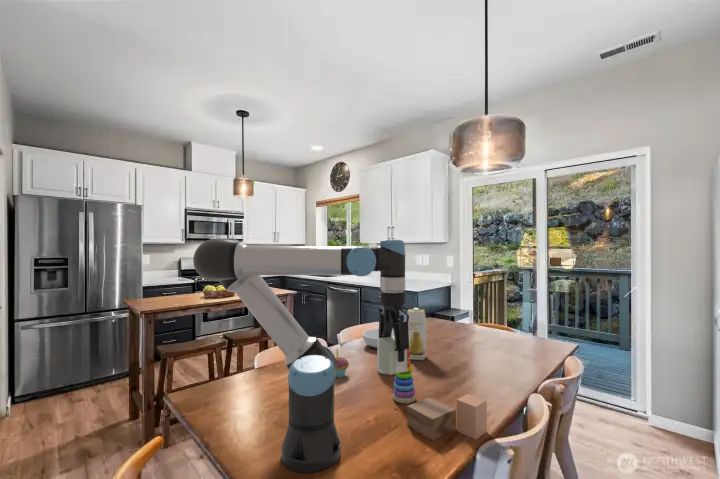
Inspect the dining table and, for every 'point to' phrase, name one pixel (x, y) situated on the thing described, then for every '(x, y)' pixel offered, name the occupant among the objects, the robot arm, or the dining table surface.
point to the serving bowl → (372, 337)
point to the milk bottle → (379, 360)
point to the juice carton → (417, 333)
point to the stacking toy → (404, 385)
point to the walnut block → (431, 418)
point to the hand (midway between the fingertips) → (393, 368)
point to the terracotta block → (472, 416)
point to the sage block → (389, 355)
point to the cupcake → (341, 366)
